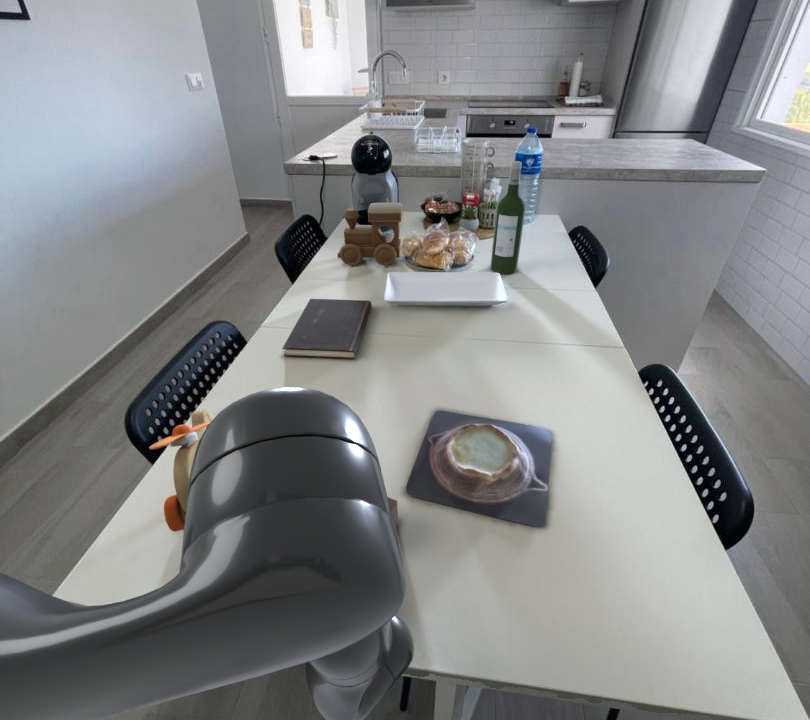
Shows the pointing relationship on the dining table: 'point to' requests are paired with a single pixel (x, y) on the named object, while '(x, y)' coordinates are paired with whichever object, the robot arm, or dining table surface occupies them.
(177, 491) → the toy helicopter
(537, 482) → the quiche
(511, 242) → the wine bottle
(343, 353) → the hardcover book
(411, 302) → the tray
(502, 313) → the dining table surface
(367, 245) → the wooden toy train
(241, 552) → the robot arm
